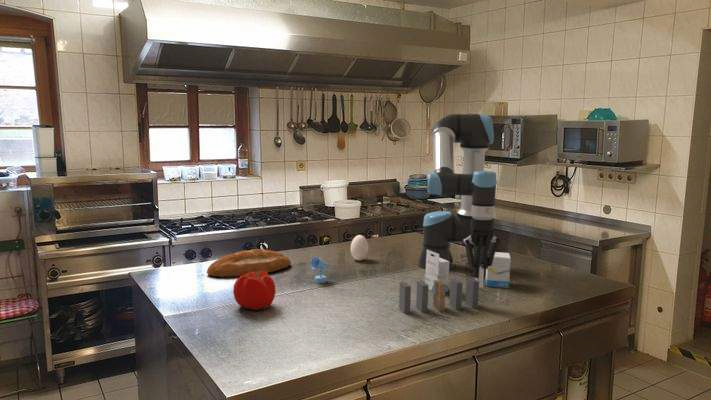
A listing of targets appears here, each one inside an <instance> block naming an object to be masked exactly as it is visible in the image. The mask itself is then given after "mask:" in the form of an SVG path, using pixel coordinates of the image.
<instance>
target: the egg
mask: <svg viewBox="0 0 711 400" xmlns="http://www.w3.org/2000/svg"><path fill="white" fill-rule="evenodd" d="M350 254H351V256H352V257H353V258H354V259H355V260H357V261H363V260H365V258H367V256H368V254H369V243H368V241H367V239H366V237H365V236H363V235H361V234H358V235H356V236H354V238H353V239H352V240H351V243H350Z"/></svg>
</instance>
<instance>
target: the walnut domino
mask: <svg viewBox="0 0 711 400" xmlns="http://www.w3.org/2000/svg"><path fill="white" fill-rule="evenodd" d="M445 291H446V284H445V283H443V282H442V281H441V280H434V292H433V295H432V296H433V298H432V299H433V300H432V307H433V308H435V309H436V310H437V311H438V312H445V310H446V309H445V308H446V293H445Z"/></svg>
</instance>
